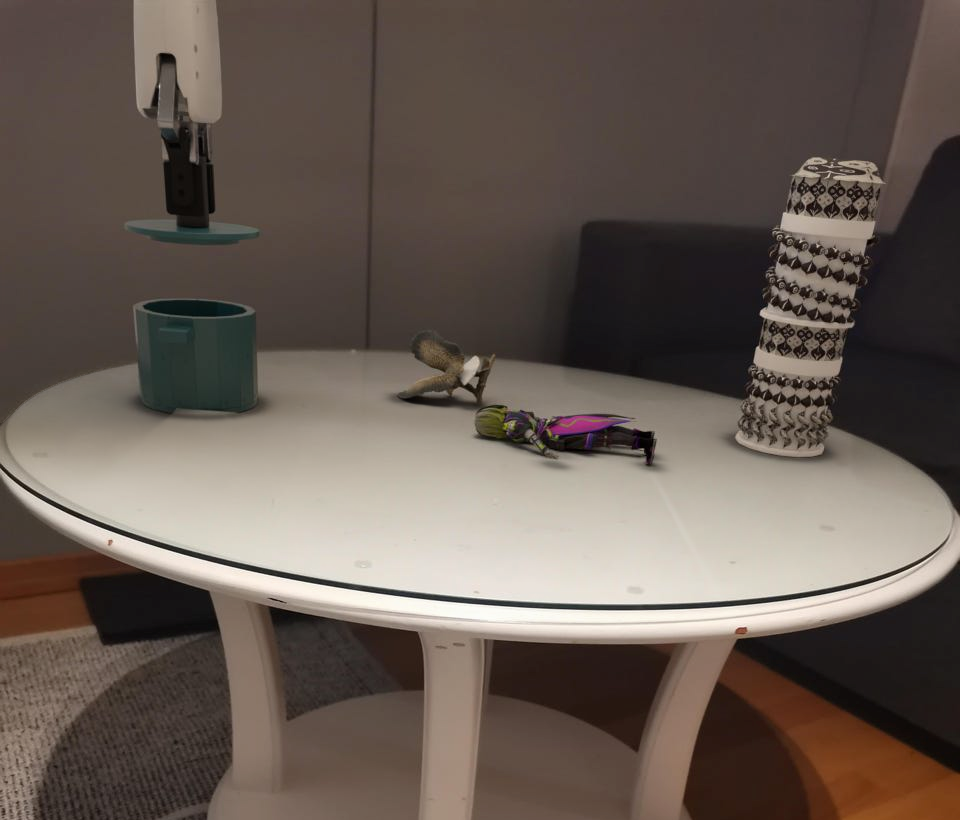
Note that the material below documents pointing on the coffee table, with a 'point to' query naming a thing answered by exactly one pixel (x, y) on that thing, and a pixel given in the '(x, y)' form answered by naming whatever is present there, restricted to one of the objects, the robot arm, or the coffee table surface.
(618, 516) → the coffee table surface
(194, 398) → the pot
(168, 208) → the robot arm
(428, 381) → the eagle figurine
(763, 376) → the decorative candle
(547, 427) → the character figure
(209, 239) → the lid
